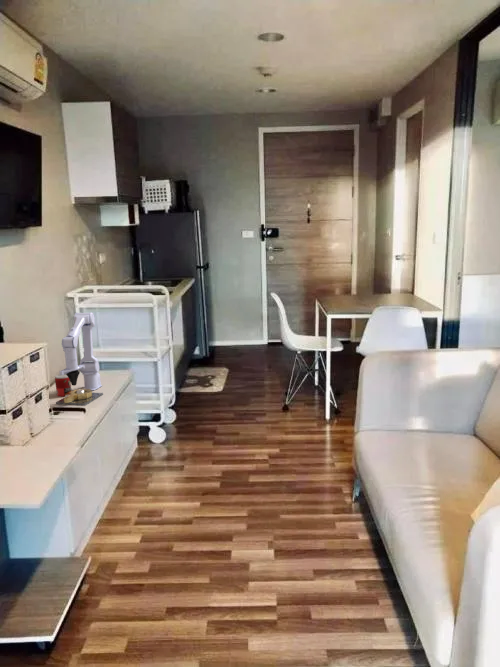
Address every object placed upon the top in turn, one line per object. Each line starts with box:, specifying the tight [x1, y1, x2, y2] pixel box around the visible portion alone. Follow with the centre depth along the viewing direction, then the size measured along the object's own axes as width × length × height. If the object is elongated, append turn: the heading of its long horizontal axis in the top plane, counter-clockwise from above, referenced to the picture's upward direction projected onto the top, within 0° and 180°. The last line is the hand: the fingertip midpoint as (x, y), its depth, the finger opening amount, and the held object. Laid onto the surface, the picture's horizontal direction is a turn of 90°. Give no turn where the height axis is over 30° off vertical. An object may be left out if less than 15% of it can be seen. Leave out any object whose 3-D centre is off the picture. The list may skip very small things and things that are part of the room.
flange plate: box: [55, 389, 104, 406], centre depth 270 cm, size 18×17×4 cm
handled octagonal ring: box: [63, 388, 93, 403], centre depth 268 cm, size 17×11×2 cm, turn 159°
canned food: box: [54, 374, 72, 398], centre depth 278 cm, size 8×8×11 cm
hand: (74, 385), depth 264 cm, fingers closed
